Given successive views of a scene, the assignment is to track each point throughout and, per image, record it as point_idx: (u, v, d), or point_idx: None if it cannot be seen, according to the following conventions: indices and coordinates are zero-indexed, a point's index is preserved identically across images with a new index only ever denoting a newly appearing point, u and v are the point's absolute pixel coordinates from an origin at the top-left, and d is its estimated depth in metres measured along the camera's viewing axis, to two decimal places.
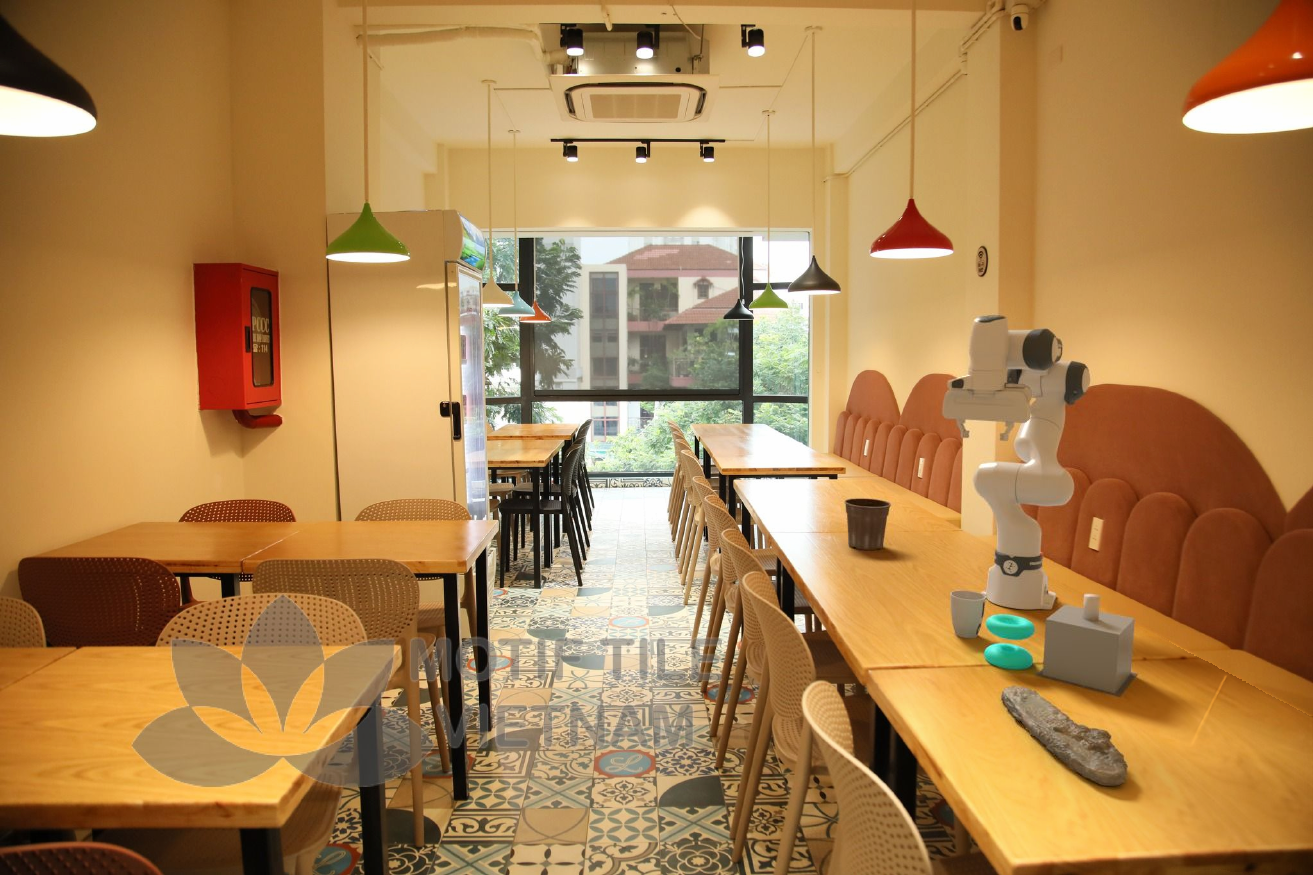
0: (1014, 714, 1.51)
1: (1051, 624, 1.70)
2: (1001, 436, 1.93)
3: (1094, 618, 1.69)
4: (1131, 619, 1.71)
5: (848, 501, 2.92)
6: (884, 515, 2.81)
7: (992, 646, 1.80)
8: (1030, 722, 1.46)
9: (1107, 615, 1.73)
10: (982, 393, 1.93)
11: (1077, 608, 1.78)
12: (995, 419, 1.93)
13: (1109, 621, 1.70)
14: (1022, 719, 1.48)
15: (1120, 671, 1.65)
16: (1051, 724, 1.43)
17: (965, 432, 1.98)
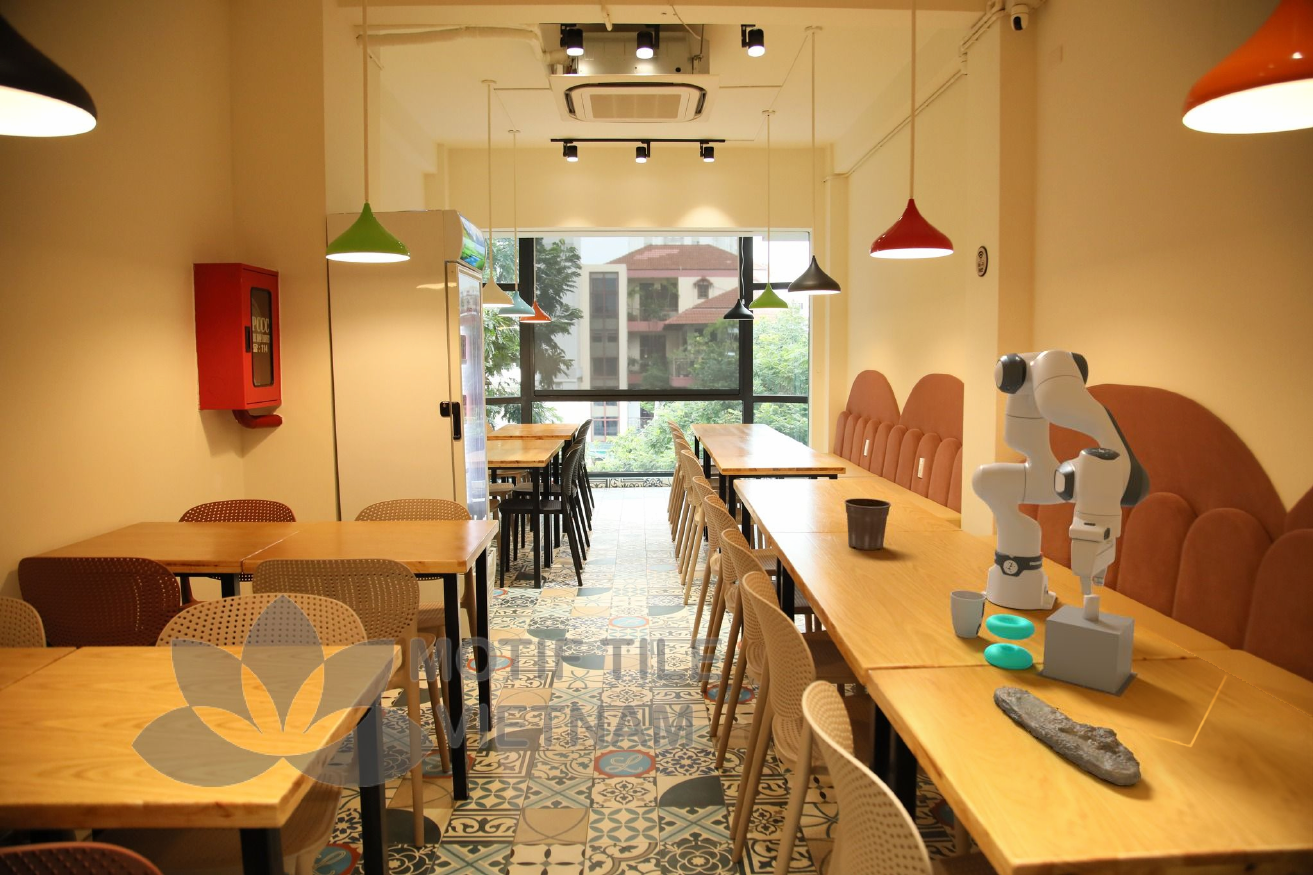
0: (1013, 716, 1.50)
1: (1051, 624, 1.70)
2: (1103, 581, 1.73)
3: (1094, 618, 1.69)
4: (1131, 619, 1.71)
5: (848, 501, 2.92)
6: (884, 515, 2.81)
7: (992, 646, 1.80)
8: (1032, 723, 1.45)
9: (1107, 615, 1.73)
10: (1111, 539, 1.67)
11: (1077, 608, 1.78)
12: (1107, 565, 1.71)
13: (1109, 621, 1.70)
14: (1023, 720, 1.48)
15: (1120, 671, 1.65)
16: (1054, 724, 1.43)
17: (1092, 588, 1.66)
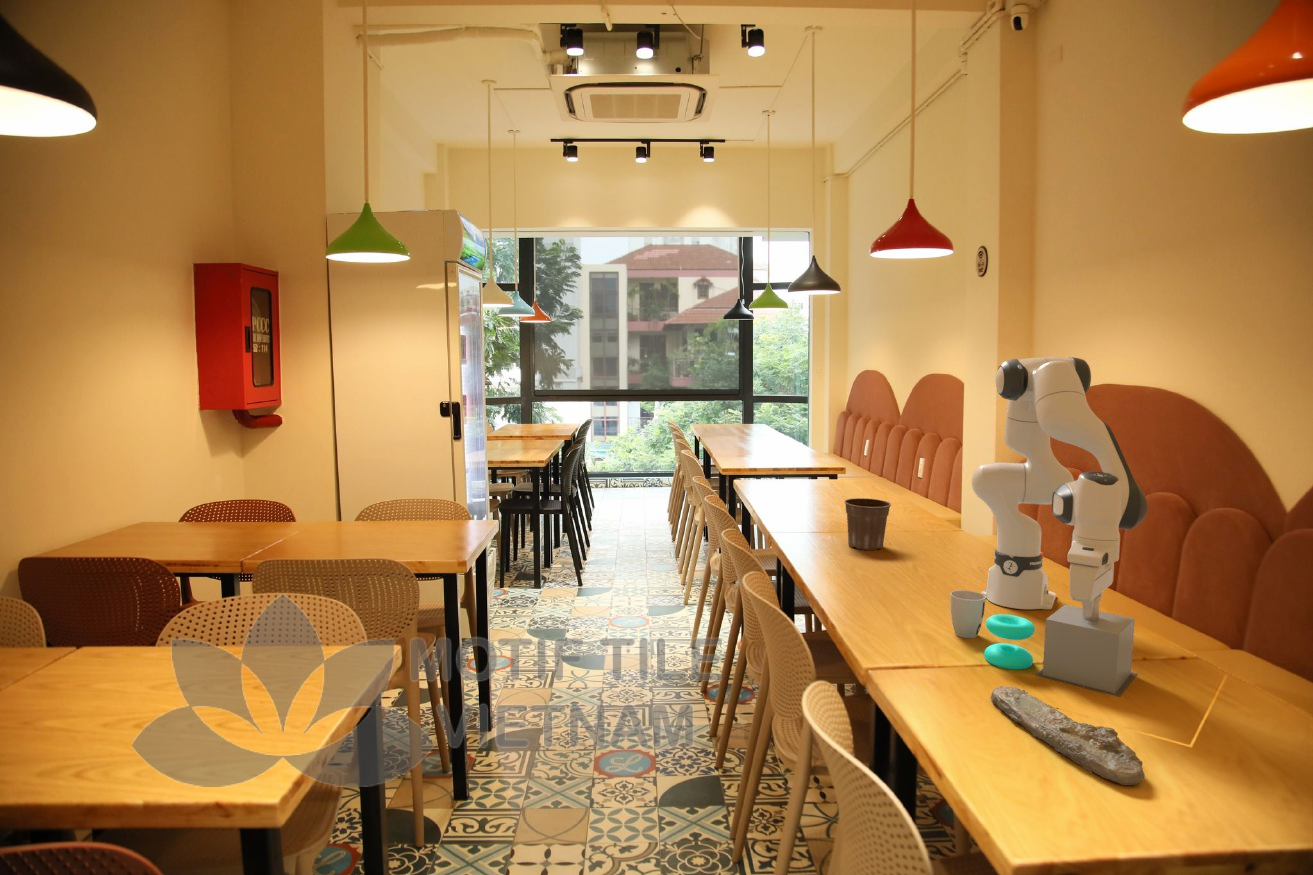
0: (1012, 716, 1.50)
1: (1051, 624, 1.70)
2: None
3: (1094, 618, 1.69)
4: (1131, 619, 1.71)
5: (848, 501, 2.92)
6: (884, 515, 2.81)
7: (992, 646, 1.80)
8: (1032, 724, 1.45)
9: (1107, 615, 1.73)
10: (1109, 564, 1.68)
11: (1077, 608, 1.78)
12: (1105, 588, 1.71)
13: (1109, 621, 1.70)
14: (1023, 721, 1.47)
15: (1120, 671, 1.65)
16: (1055, 725, 1.43)
17: (1093, 609, 1.69)
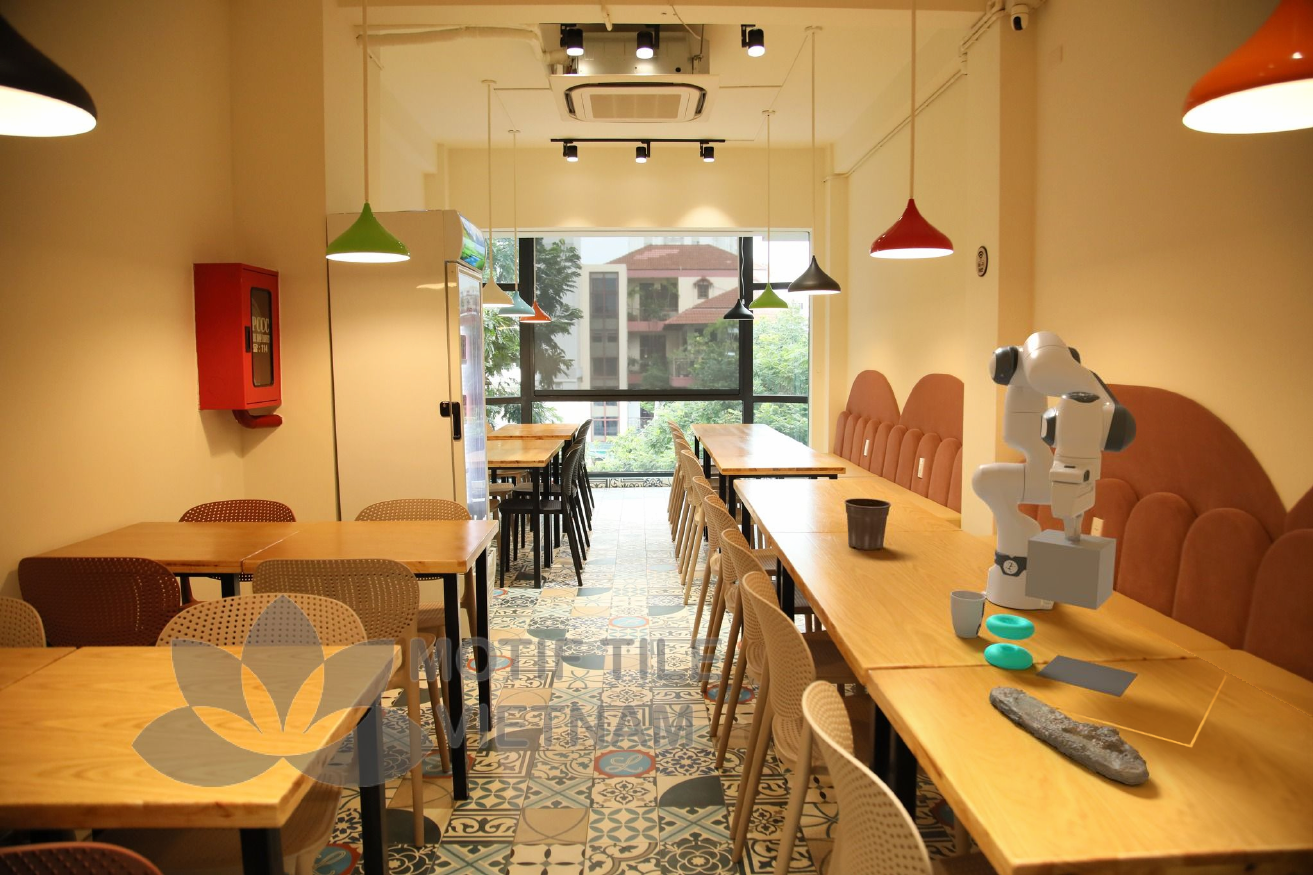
0: (1013, 717, 1.50)
1: (1033, 544, 1.70)
2: None
3: (1076, 538, 1.70)
4: (1112, 539, 1.71)
5: (848, 501, 2.92)
6: (884, 515, 2.81)
7: (992, 646, 1.80)
8: (1034, 724, 1.45)
9: (1089, 537, 1.74)
10: (1091, 483, 1.68)
11: (1059, 531, 1.79)
12: (1086, 508, 1.72)
13: (1091, 541, 1.70)
14: (1023, 721, 1.47)
15: (1101, 589, 1.65)
16: (1057, 725, 1.43)
17: (1075, 528, 1.69)
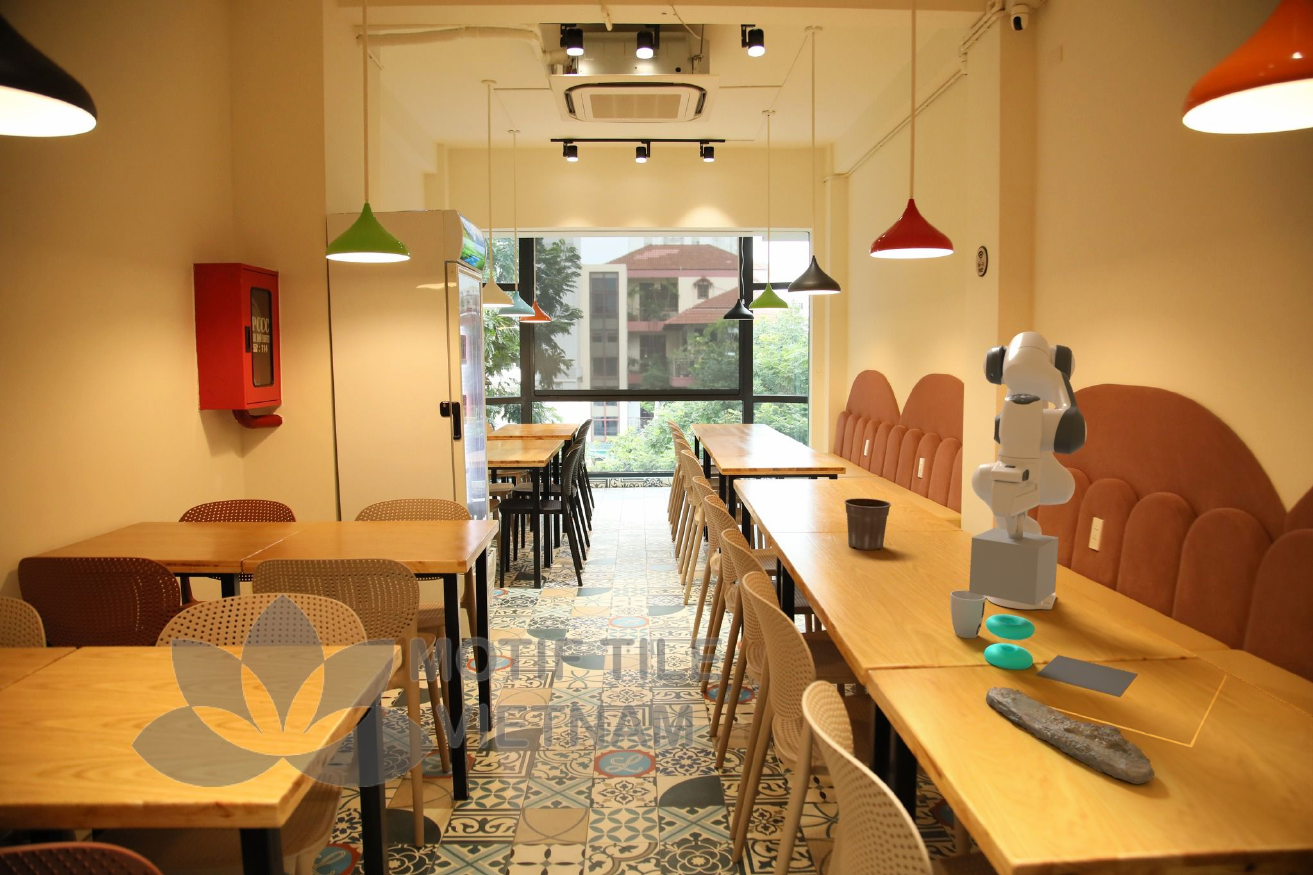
0: (1012, 717, 1.49)
1: (976, 542, 1.75)
2: None
3: (1018, 536, 1.75)
4: (1054, 537, 1.76)
5: (848, 501, 2.92)
6: (884, 515, 2.81)
7: (992, 646, 1.80)
8: (1035, 725, 1.45)
9: (1032, 535, 1.78)
10: (1032, 482, 1.73)
11: (1005, 530, 1.83)
12: (1029, 507, 1.77)
13: (1033, 538, 1.75)
14: (1024, 722, 1.47)
15: (1041, 585, 1.70)
16: (1058, 725, 1.43)
17: (1017, 527, 1.74)
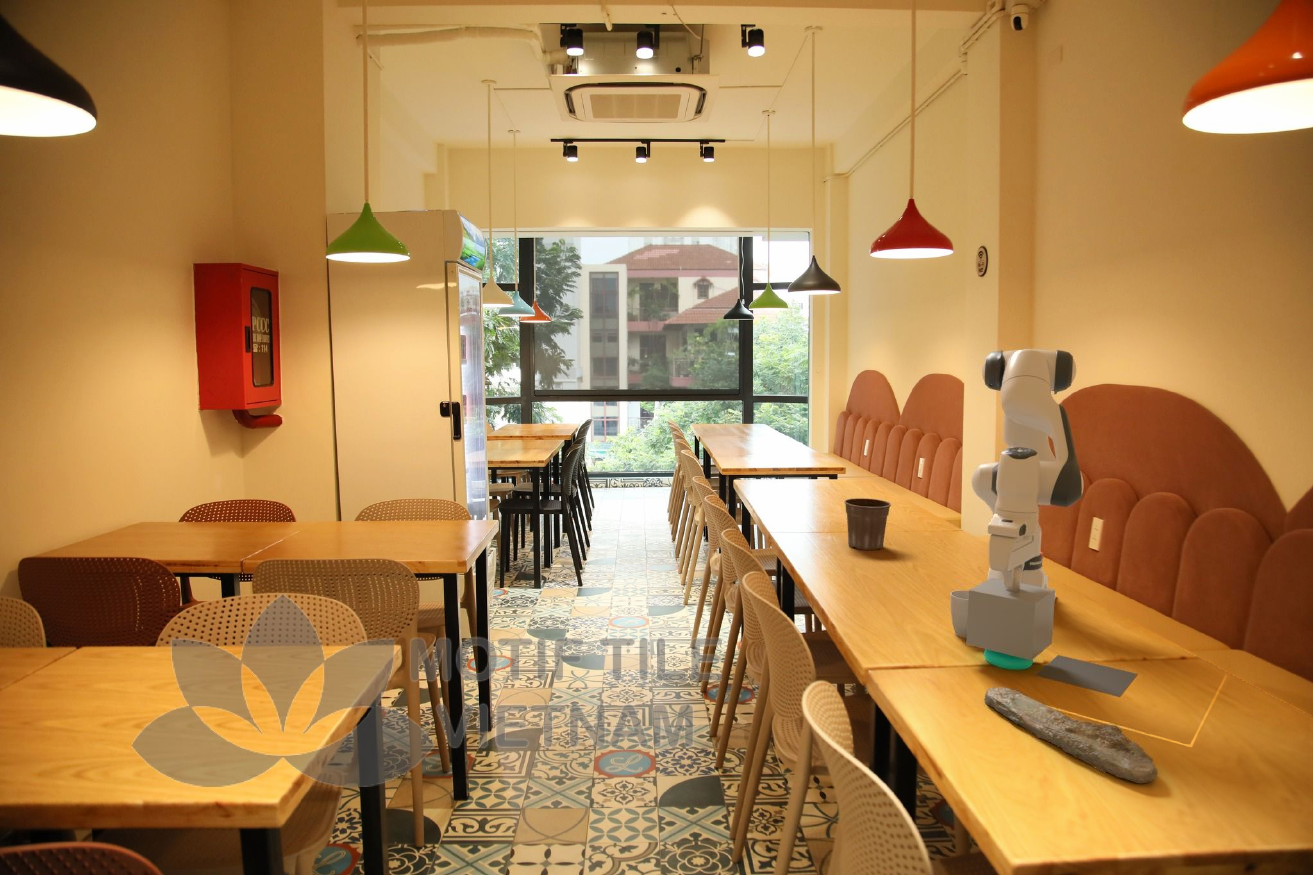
0: (1013, 718, 1.49)
1: (974, 595, 1.76)
2: None
3: (1015, 589, 1.76)
4: (1051, 590, 1.77)
5: (848, 501, 2.92)
6: (884, 515, 2.81)
7: None
8: (1036, 725, 1.44)
9: (1029, 587, 1.80)
10: (1029, 535, 1.74)
11: (1002, 580, 1.85)
12: (1026, 559, 1.78)
13: (1030, 591, 1.76)
14: (1025, 722, 1.47)
15: (1038, 639, 1.71)
16: (1059, 725, 1.43)
17: (1014, 579, 1.75)
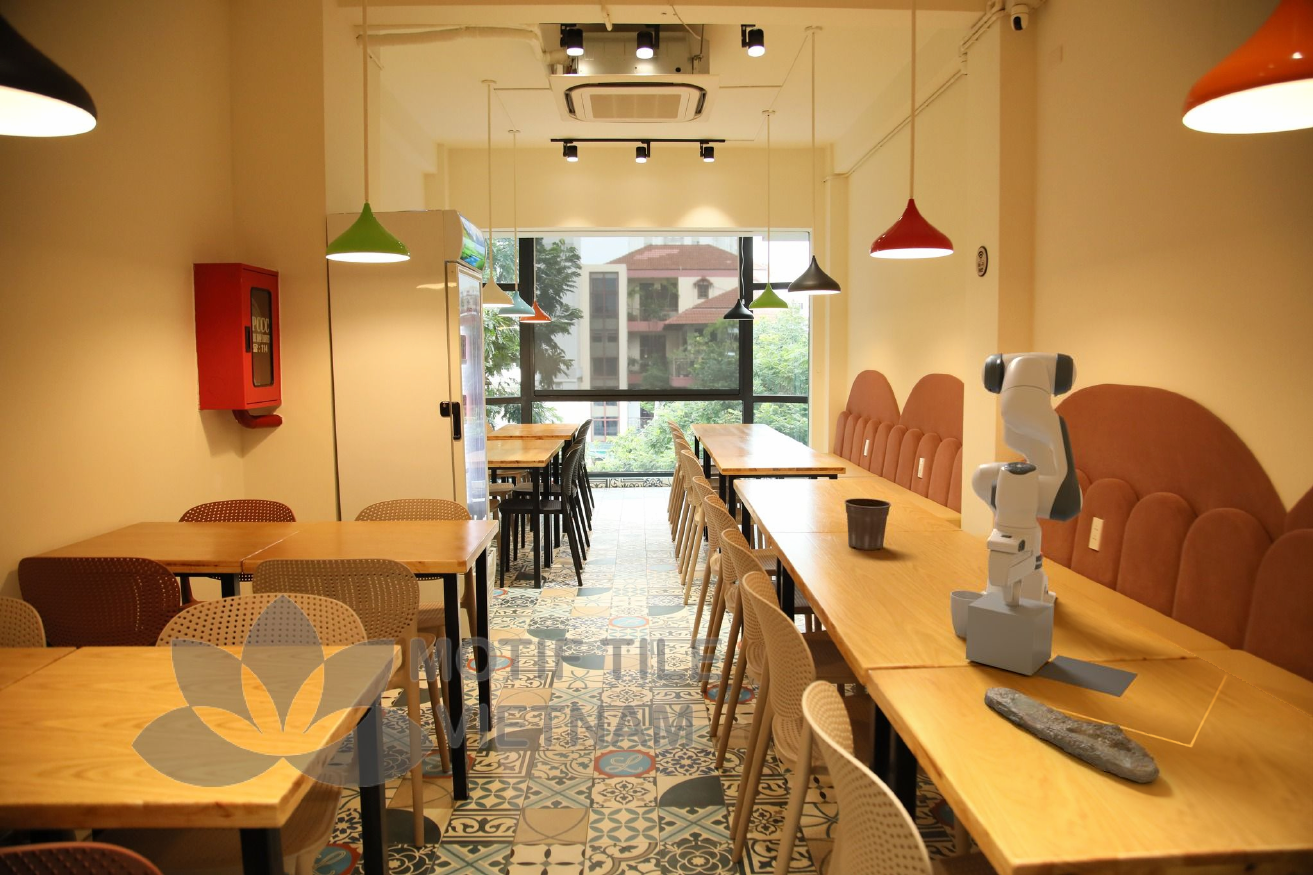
0: (1013, 718, 1.49)
1: (973, 610, 1.77)
2: None
3: (1014, 604, 1.76)
4: (1050, 605, 1.78)
5: (848, 501, 2.92)
6: (884, 515, 2.81)
7: None
8: (1037, 725, 1.44)
9: (1028, 601, 1.80)
10: (1028, 550, 1.75)
11: (1001, 595, 1.85)
12: (1025, 574, 1.78)
13: (1029, 606, 1.77)
14: (1025, 722, 1.47)
15: (1037, 654, 1.72)
16: (1060, 725, 1.43)
17: (1013, 594, 1.76)
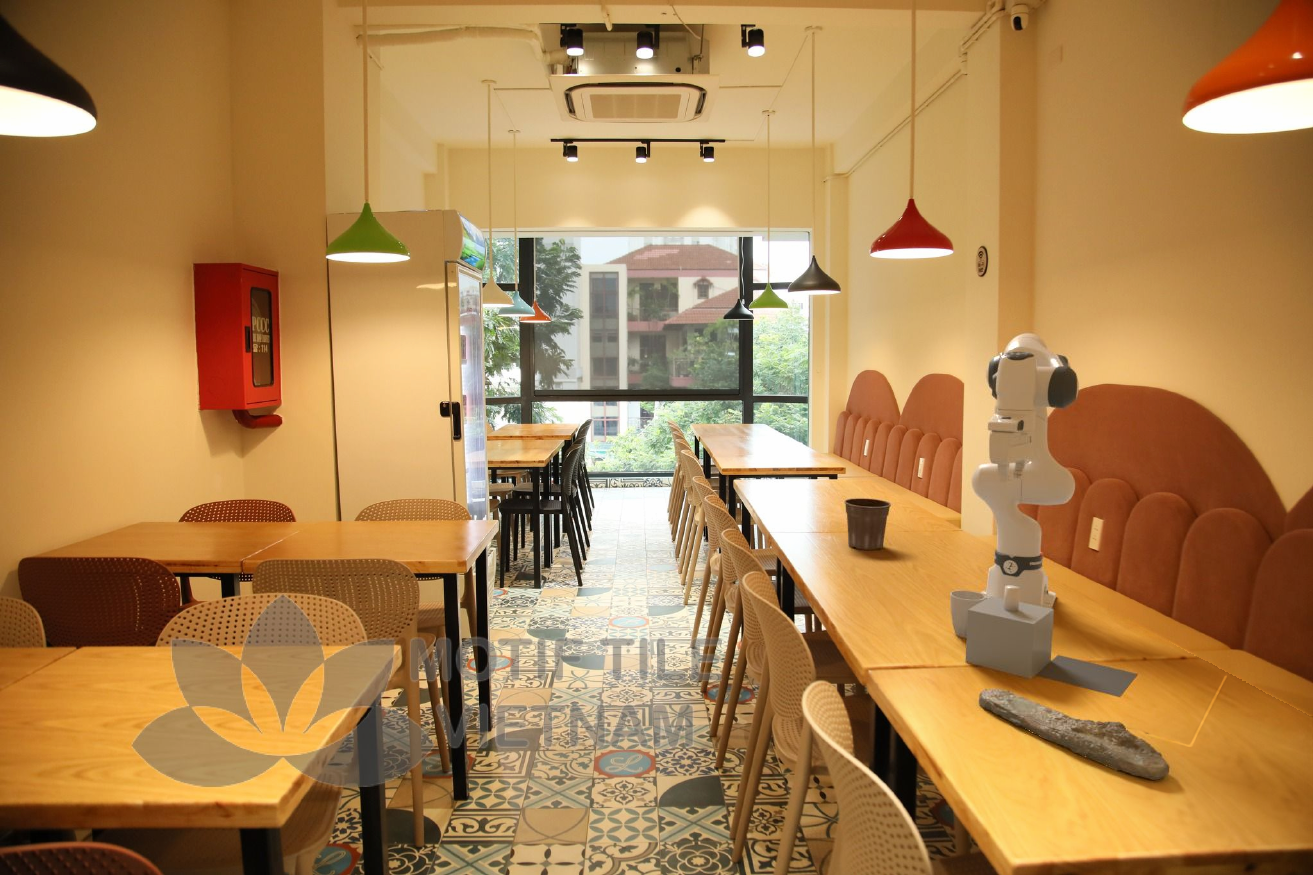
0: (1014, 720, 1.48)
1: (973, 614, 1.77)
2: (1021, 474, 1.92)
3: (1014, 609, 1.77)
4: (1050, 610, 1.78)
5: (848, 501, 2.92)
6: (884, 515, 2.81)
7: None
8: (1041, 726, 1.44)
9: (1028, 606, 1.80)
10: (1026, 433, 1.86)
11: (1001, 599, 1.85)
12: (1024, 458, 1.90)
13: (1028, 611, 1.77)
14: (1028, 724, 1.46)
15: (1036, 659, 1.72)
16: (1063, 725, 1.43)
17: (1009, 476, 1.86)
